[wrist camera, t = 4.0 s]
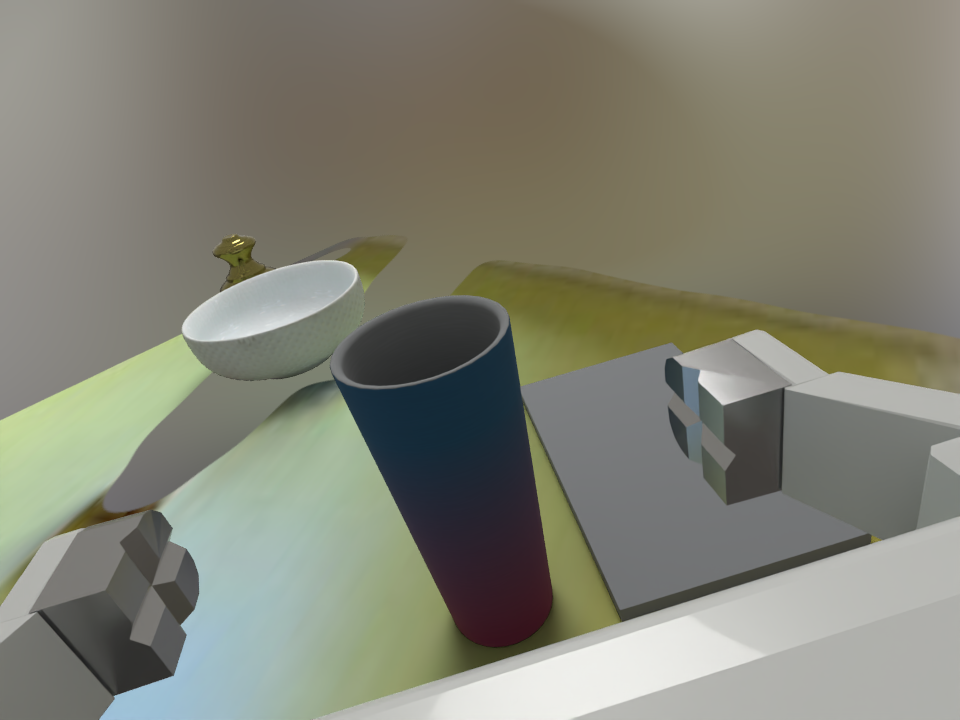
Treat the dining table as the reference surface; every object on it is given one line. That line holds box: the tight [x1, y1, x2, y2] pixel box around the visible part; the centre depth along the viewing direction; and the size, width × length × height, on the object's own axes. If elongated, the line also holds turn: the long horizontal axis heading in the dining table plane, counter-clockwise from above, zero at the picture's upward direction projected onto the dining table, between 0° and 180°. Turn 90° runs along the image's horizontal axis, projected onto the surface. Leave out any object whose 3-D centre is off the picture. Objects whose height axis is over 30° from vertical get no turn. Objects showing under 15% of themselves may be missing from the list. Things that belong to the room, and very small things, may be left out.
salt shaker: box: [212, 234, 276, 292], centre depth 70 cm, size 7×7×10 cm
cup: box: [330, 295, 553, 647], centre depth 25 cm, size 7×7×15 cm
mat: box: [520, 343, 871, 621], centre depth 35 cm, size 12×20×1 cm, turn 10°
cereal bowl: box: [182, 260, 365, 381], centre depth 57 cm, size 17×17×7 cm
